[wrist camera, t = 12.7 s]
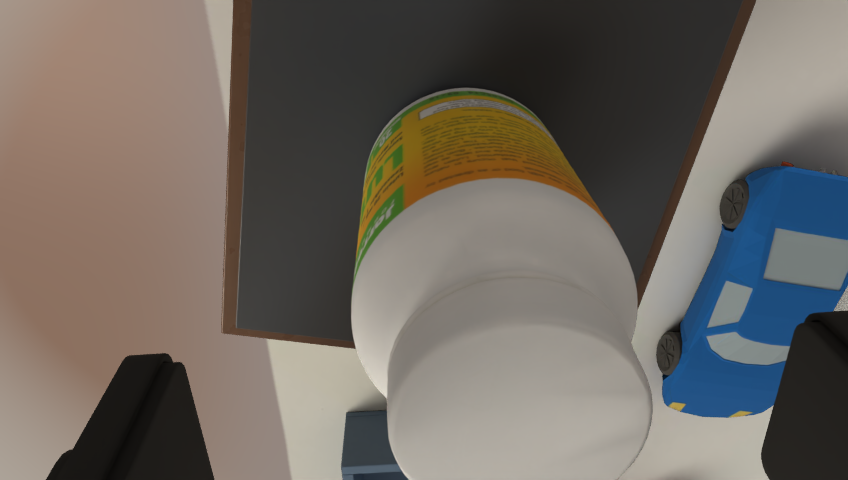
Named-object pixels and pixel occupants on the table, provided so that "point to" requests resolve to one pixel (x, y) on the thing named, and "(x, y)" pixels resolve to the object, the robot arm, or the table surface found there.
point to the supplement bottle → (494, 300)
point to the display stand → (432, 72)
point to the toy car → (758, 291)
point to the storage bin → (368, 448)
